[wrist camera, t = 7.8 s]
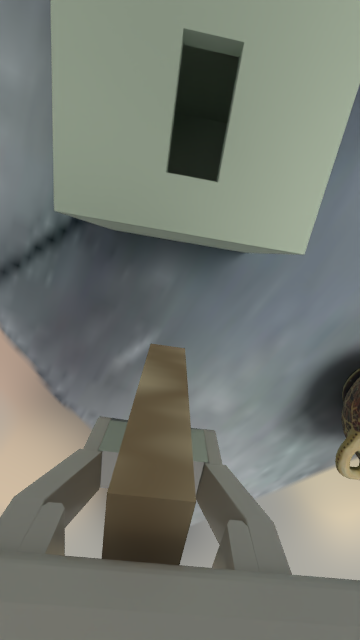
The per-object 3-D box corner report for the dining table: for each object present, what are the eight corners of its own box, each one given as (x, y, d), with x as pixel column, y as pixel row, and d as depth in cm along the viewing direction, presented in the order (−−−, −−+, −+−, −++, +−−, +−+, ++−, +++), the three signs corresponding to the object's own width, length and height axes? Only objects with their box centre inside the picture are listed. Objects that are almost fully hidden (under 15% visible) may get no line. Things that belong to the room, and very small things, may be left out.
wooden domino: (184, 348, 12) (195, 501, 5) (172, 417, 14) (165, 617, 6) (150, 343, 12) (107, 492, 5) (141, 413, 14) (97, 612, 6)
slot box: (276, 128, 25) (391, -15, 11) (246, 252, 29) (304, 254, 16) (121, 95, 24) (48, -103, 10) (112, 229, 28) (54, 210, 15)
